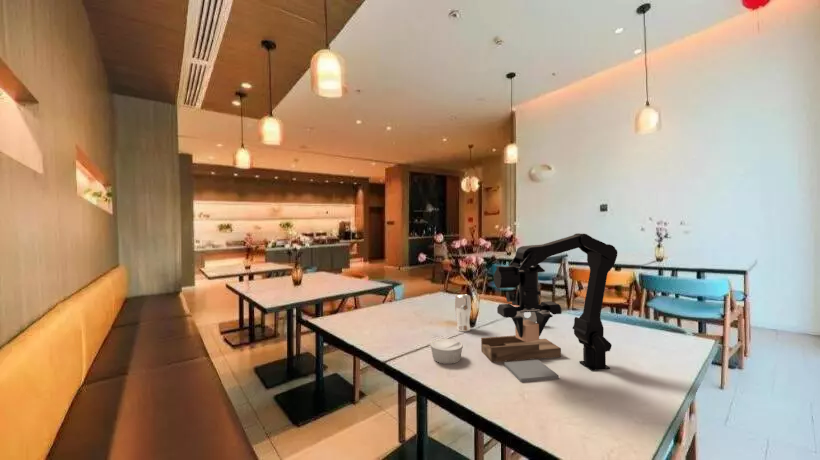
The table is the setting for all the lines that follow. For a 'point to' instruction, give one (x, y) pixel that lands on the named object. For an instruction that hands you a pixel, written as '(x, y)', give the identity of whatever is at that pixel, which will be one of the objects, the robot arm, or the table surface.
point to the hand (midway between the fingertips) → (529, 336)
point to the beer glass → (463, 312)
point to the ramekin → (446, 350)
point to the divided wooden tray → (517, 349)
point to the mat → (530, 370)
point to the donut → (531, 318)
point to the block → (529, 331)
